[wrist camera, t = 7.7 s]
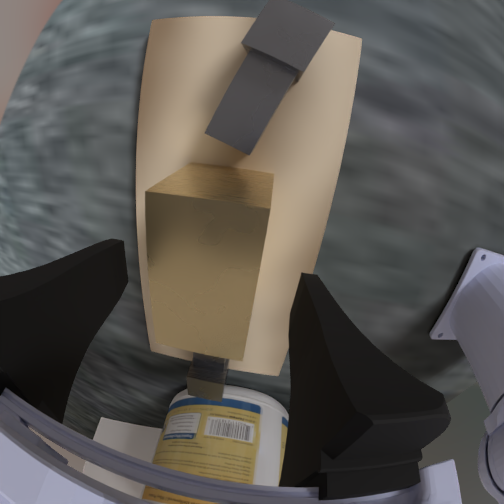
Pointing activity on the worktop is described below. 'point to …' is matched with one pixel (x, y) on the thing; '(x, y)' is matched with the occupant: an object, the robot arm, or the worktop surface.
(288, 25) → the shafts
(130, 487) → the milk
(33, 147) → the worktop surface
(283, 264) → the wooden board
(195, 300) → the gold rectangular block
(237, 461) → the supplement tub
